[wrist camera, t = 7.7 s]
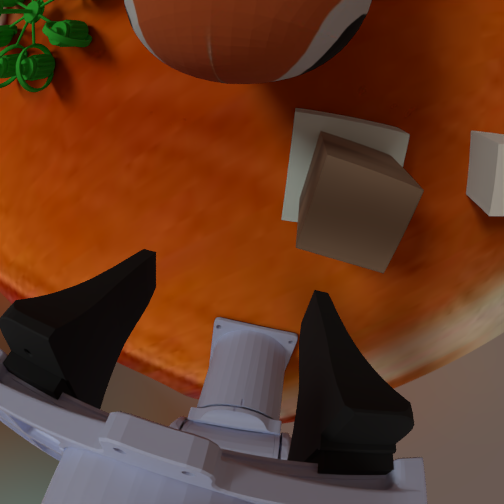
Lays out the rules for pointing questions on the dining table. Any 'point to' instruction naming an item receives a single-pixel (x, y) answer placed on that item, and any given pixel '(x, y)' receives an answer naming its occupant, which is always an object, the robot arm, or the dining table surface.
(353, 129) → the sage slab
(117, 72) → the dining table surface
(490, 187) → the cream block
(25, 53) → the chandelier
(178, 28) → the toy
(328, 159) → the walnut block
